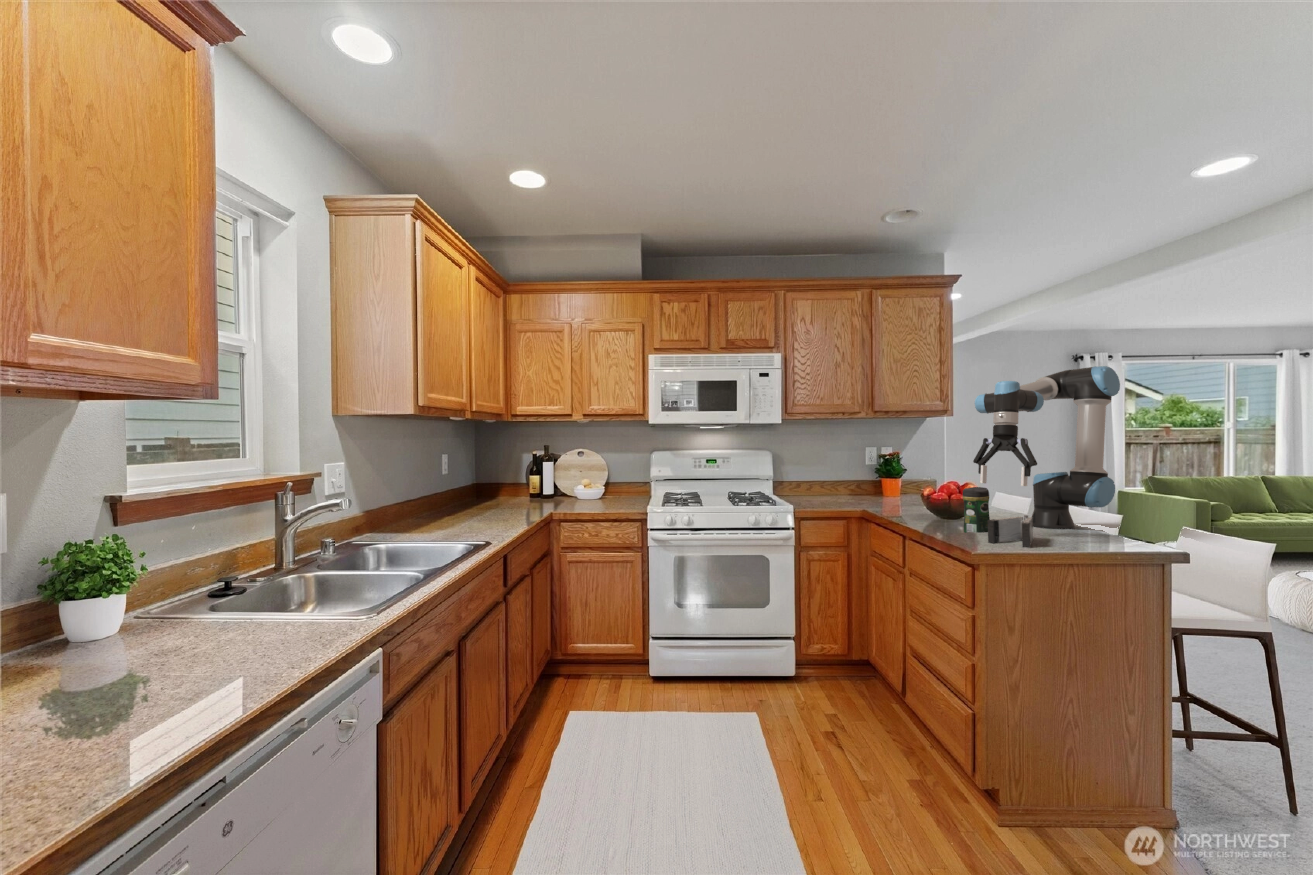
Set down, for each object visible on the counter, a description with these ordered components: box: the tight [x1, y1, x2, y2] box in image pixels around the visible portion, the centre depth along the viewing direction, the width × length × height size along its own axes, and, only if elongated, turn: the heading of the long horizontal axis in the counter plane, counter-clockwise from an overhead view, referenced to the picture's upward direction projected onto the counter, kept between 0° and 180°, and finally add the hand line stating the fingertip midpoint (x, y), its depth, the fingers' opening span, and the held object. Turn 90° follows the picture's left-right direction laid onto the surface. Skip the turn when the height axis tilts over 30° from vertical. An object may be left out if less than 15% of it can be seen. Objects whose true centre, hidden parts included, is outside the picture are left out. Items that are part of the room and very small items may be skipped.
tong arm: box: [987, 516, 1024, 544], centre depth 200 cm, size 16×2×8 cm, turn 113°
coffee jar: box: [962, 486, 991, 534], centre depth 222 cm, size 10×8×19 cm
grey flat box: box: [1021, 514, 1034, 549], centre depth 195 cm, size 18×3×9 cm, turn 141°
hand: (1003, 484), depth 198 cm, fingers open, 13 cm apart
